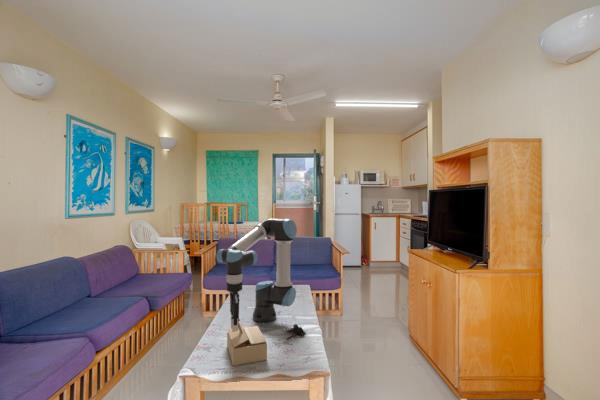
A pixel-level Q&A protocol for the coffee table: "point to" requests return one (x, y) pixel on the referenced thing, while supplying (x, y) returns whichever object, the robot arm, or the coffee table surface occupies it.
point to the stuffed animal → (295, 331)
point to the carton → (248, 348)
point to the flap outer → (238, 335)
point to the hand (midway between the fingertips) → (234, 329)
